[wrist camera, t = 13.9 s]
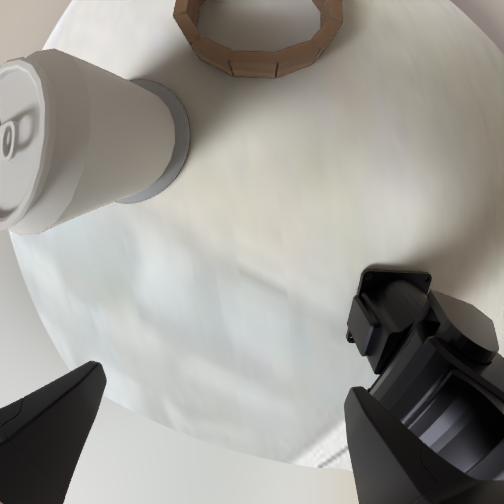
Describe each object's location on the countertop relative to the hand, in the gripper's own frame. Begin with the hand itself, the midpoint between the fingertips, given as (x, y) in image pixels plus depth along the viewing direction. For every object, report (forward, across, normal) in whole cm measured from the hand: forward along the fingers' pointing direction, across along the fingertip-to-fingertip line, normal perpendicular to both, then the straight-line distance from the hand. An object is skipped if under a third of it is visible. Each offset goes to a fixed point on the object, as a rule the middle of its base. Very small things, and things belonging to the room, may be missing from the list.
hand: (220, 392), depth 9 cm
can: (+12, +8, -8) cm, 17 cm away
